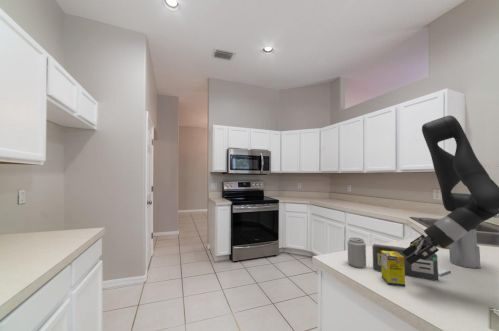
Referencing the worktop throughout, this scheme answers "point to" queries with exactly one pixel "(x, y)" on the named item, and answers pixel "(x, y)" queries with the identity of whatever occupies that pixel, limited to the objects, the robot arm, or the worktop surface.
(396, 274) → the supplement box
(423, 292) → the worktop surface
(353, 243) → the can
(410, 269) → the panel
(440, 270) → the external hard drive
